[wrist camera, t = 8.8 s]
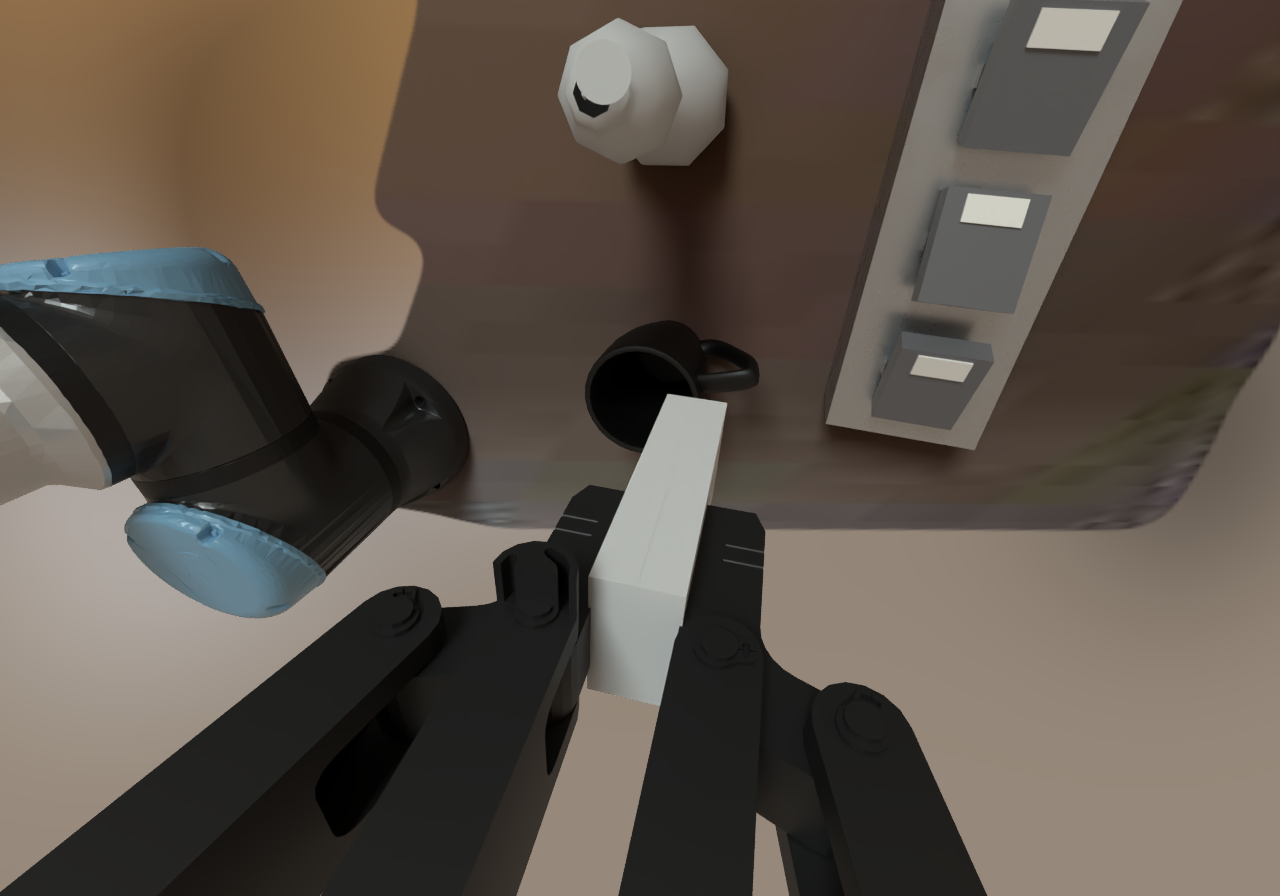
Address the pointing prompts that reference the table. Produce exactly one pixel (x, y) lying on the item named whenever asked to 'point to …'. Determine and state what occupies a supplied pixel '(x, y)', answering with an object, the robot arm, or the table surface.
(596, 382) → the mug
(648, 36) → the figurine
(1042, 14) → the switch
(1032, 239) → the switch
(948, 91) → the console
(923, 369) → the switch
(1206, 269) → the table surface
